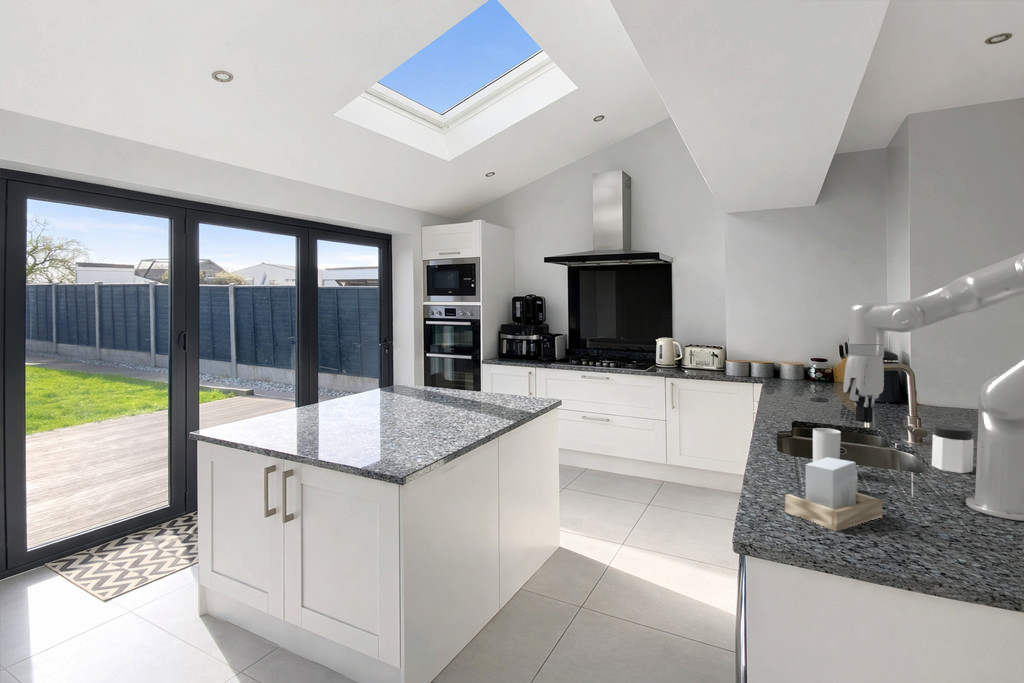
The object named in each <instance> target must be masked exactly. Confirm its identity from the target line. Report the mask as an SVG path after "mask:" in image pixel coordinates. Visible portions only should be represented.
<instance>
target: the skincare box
mask: <svg viewBox="0 0 1024 683" xmlns="http://www.w3.org/2000/svg"><path fill="white" fill-rule="evenodd" d="M856 464H857V463H856V462H855V461H851V460H847V459H846V460H845V459H835V458H830V457H826V458H823V459H820V460H817V461H814V462H813V461H811V462H809V463H805V500H807V501H810V502H813V503H816V504H819V505H822V506H825V507H828V508H831V509H834V510H836V509H840V508H844V507H848V506H852V505H855V504H856V470H857V469H856V468H857V465H856Z"/></svg>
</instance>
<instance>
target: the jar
mask: <svg viewBox="0 0 1024 683" xmlns="http://www.w3.org/2000/svg"><path fill="white" fill-rule="evenodd" d="M974 441H975V440H974V439H973V429H971V428H969V427H968V428H967V427H965V426H956V425H947V424H943V425H942V424H938V425H935V426H934V434H932V443H931V444H932V447H931V467H933V468H936V469H938V470H940V471H945V472H951V473H957V474H966V473H973V470H974V469H973V468H974V466H973V464H974V443H975V442H974Z"/></svg>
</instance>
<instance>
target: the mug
mask: <svg viewBox="0 0 1024 683" xmlns="http://www.w3.org/2000/svg"><path fill="white" fill-rule="evenodd" d="M841 433H842V431H840V430H838V429H834V428H826V427H825V428H824V427H816V428H812V462H814V461H817V460H820V459H823V458H826V457H830V458H835V459H840V456H841V455H840V454H841Z"/></svg>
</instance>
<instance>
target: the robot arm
mask: <svg viewBox="0 0 1024 683" xmlns="http://www.w3.org/2000/svg"><path fill="white" fill-rule="evenodd" d="M1020 296H1024V252H1021V253H1019V254H1017V255H1014V256H1012V257H1009V258H1006V259H1004V260H1001V261H999V262H997V263H993V264H991V265H988V266H986V267H983V268H979V269H977V270H975V271H972V272H969V273H967V274H964V275H962V276H961V277H958V278H956V279H954V280H953V281H952V282H950V283H948V284H947V285H944V286H943V287H941V288H938V289H936V290H933V291H930V292H928V293H925V294H923V295H921V296H918V297H915V298H912V299H909V300H907V301H899V302H892V303H873V302H872V303H854V304H853V305H851V306H850V308H849V316H848V317H849V325H848V326H849V329H848V354H847V359H846V363H845V367H844V368H845V369H844V377H843V386H842V387H843V394H844V393H845V394H846V395H849V400H850V401H854V406H855V421H856V422H860V423H866V424H869V423H873V414H874V413H873V412H874V411H873V407H874V406H875V400H877V399H878V398H880V394H882V393H883V391H884V386H885V377H884V376H885V369H884V359H883V358H885V332H886V331H887V332H896V333H910V332H913V331H915V330H919V329H921V328H924V327H926V326H930V325H933V324H936V323H938V322H942V321H944V320H947V319H950V318H953V317H955V316H959V315H963V314H968V313H974V312H976V311H979V310H982V309H985V308H989V307H992V306H994V305H997V304H1000V303H1003V302H1007V301H1009V300H1012V299H1014V298H1017V297H1020ZM977 395H978V396H977V397H978V398H977V399H978V400H977V401H978V403H977V404H978V405H977V406H978V410H977V411H978V413H977V414H978V420H977V423H978V424H977V440H976V441H977V443H976V444H977V445H976V446H977V447H976V468H975V469H976V470H975V491H974V492H975V493H974V495H975V496H969V497H967V498H966V499H965V504H966V506H967V507H969V508H971V509H972V510H974V511H977V512H979V513H983V514H985V515H988V516H993V517H996V518H1002V519H1006V520H1011V521H1012V520H1014V521H1019V522H1020V521H1021V522H1024V358H1022V359H1021V360H1020V361H1019V362H1016V364H1014V365H1012V366H1011V367H1010V368H1008V369H1007V370H1005V371H1000V372H995V373H993V374H991V375H988V376H987V377H986V378H984V379H983V381H982V382H981V384H980V385H979V387H978V394H977Z"/></svg>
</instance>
